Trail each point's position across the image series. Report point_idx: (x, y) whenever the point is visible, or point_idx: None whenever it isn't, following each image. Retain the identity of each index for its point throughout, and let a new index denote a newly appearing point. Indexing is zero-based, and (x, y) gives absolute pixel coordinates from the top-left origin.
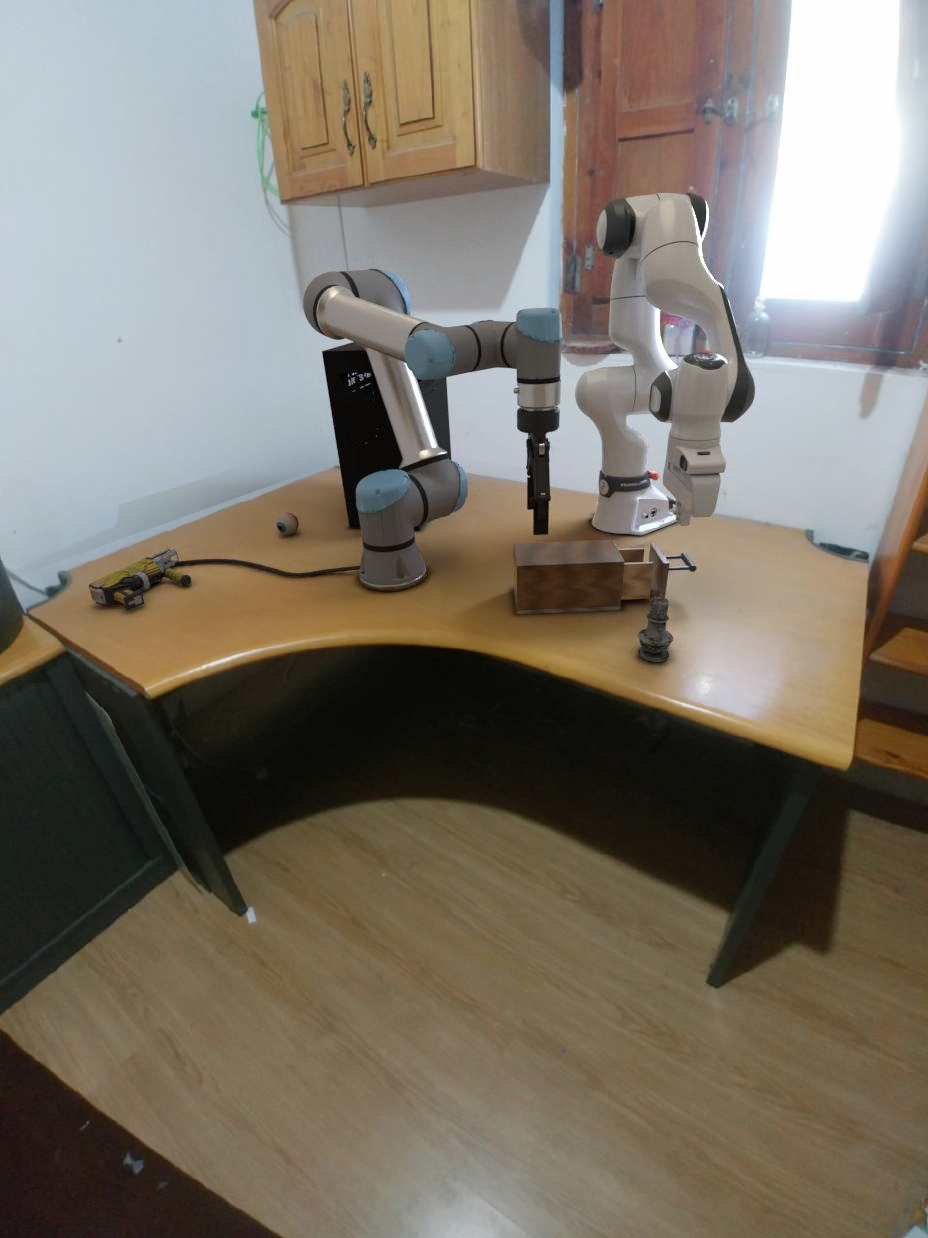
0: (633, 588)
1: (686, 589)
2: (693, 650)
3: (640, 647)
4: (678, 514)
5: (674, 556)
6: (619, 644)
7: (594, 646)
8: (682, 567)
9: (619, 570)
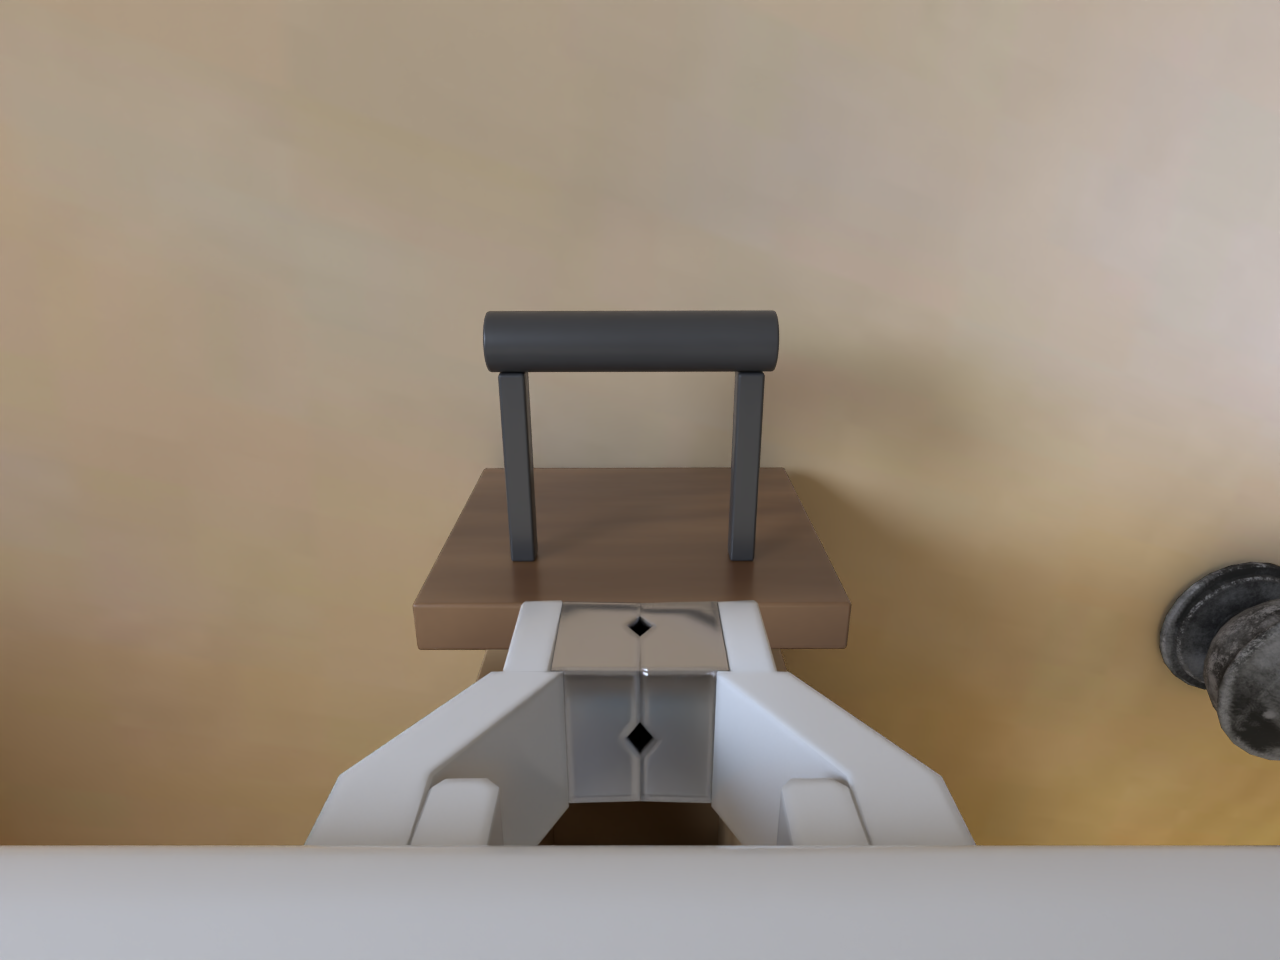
0: None
1: (560, 249)
2: (1264, 432)
3: (1176, 673)
4: (625, 799)
5: (526, 433)
6: (1097, 737)
7: (1082, 827)
8: (760, 433)
9: None
